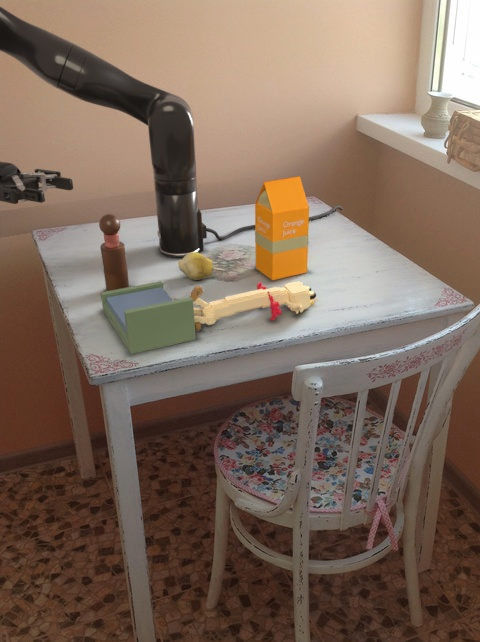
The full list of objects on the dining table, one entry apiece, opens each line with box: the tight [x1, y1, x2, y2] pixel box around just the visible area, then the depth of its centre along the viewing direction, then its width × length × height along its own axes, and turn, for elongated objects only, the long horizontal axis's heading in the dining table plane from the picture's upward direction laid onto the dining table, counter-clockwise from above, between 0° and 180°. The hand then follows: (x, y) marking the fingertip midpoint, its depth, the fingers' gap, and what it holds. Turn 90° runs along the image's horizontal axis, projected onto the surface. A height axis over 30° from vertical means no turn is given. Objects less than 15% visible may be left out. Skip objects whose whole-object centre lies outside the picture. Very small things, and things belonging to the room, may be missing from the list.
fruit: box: [177, 252, 225, 281], centre depth 148 cm, size 6×6×10 cm
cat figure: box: [189, 280, 319, 332], centre depth 132 cm, size 10×9×25 cm
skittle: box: [98, 213, 130, 291], centre depth 138 cm, size 5×5×16 cm
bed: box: [100, 281, 197, 355], centre depth 129 cm, size 12×18×8 cm, turn 27°
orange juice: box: [254, 175, 310, 281], centre depth 148 cm, size 8×9×20 cm
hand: (57, 190), depth 136 cm, fingers open, 8 cm apart
